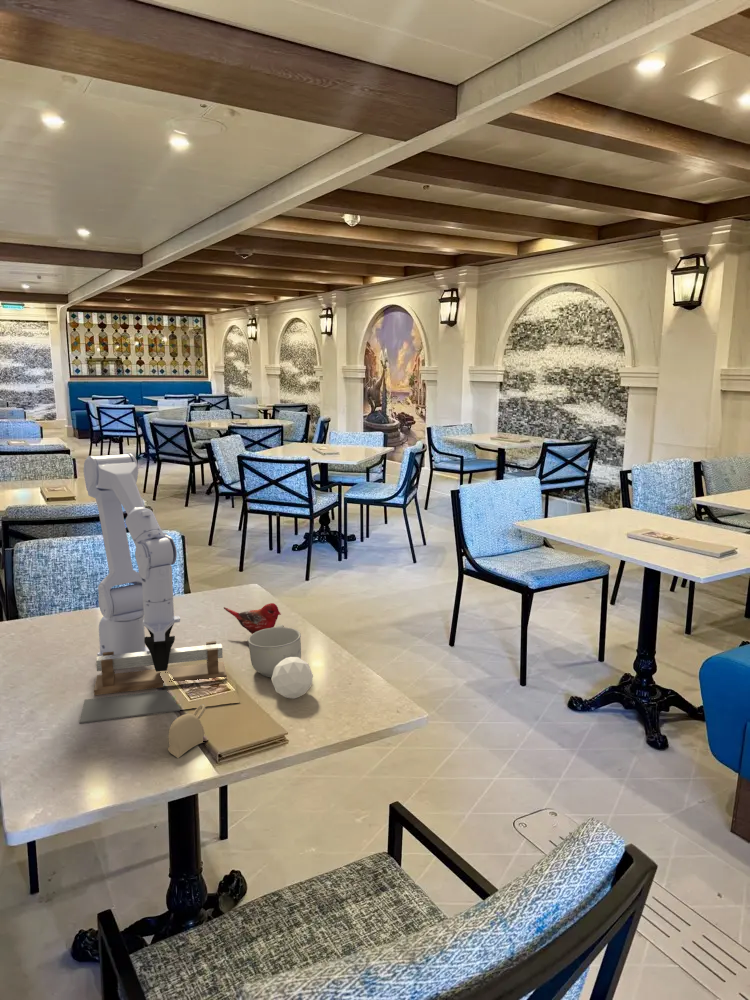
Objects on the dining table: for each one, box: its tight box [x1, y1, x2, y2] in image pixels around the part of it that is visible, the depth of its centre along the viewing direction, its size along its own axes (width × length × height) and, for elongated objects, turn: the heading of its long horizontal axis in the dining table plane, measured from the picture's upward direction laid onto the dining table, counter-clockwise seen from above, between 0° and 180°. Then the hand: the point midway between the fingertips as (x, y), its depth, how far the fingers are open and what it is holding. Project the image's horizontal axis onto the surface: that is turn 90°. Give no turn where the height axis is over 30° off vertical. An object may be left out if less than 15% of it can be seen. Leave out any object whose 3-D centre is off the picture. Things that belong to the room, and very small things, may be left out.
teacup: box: [247, 624, 302, 678], centre depth 145 cm, size 14×11×8 cm
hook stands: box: [93, 640, 227, 696], centre depth 139 cm, size 25×7×6 cm, turn 107°
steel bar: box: [95, 643, 223, 672], centre depth 139 cm, size 24×2×2 cm, turn 107°
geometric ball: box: [271, 657, 314, 699], centre depth 133 cm, size 8×8×8 cm
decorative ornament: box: [167, 704, 206, 759], centre depth 115 cm, size 4×8×5 cm, turn 145°
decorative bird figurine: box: [223, 602, 282, 635], centre depth 161 cm, size 3×18×10 cm, turn 58°
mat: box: [78, 689, 181, 724], centre depth 130 cm, size 28×9×1 cm, turn 107°
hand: (161, 662), depth 139 cm, fingers open, 7 cm apart
